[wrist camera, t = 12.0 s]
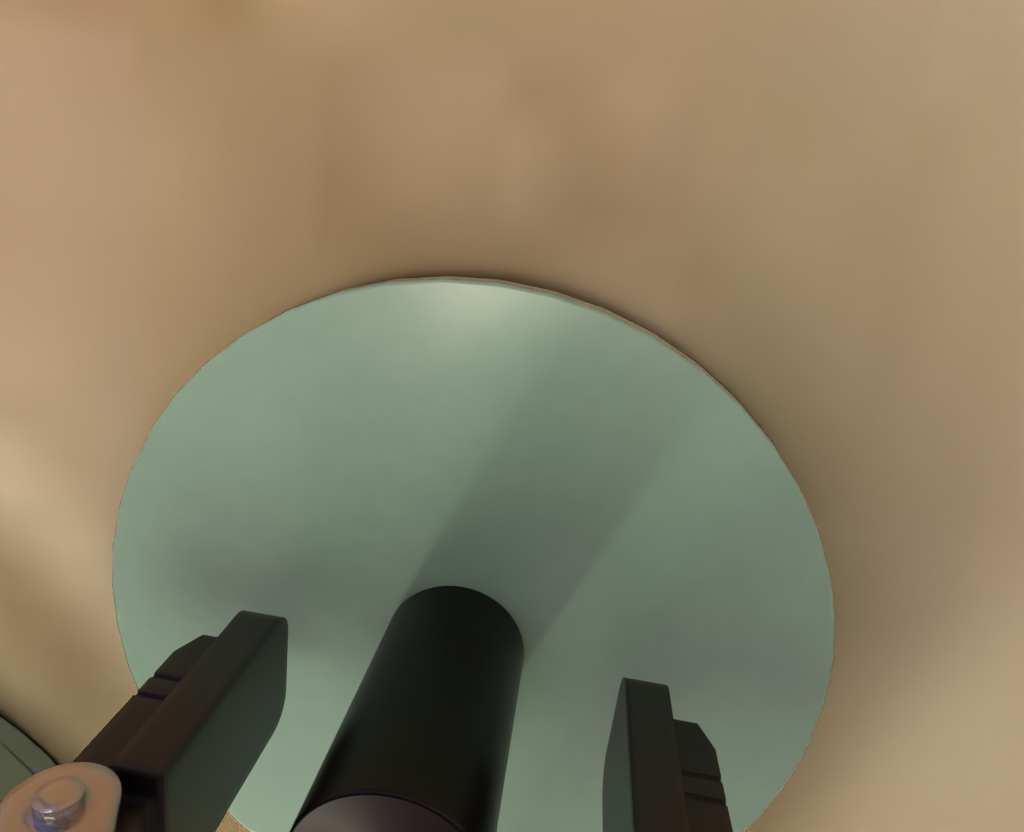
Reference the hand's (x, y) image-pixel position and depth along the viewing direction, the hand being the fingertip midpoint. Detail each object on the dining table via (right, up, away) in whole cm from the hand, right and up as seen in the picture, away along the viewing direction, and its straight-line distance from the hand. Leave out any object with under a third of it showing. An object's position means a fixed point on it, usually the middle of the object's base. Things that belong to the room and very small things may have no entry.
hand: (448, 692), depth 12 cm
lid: (0, 0, +2) cm, 2 cm away
